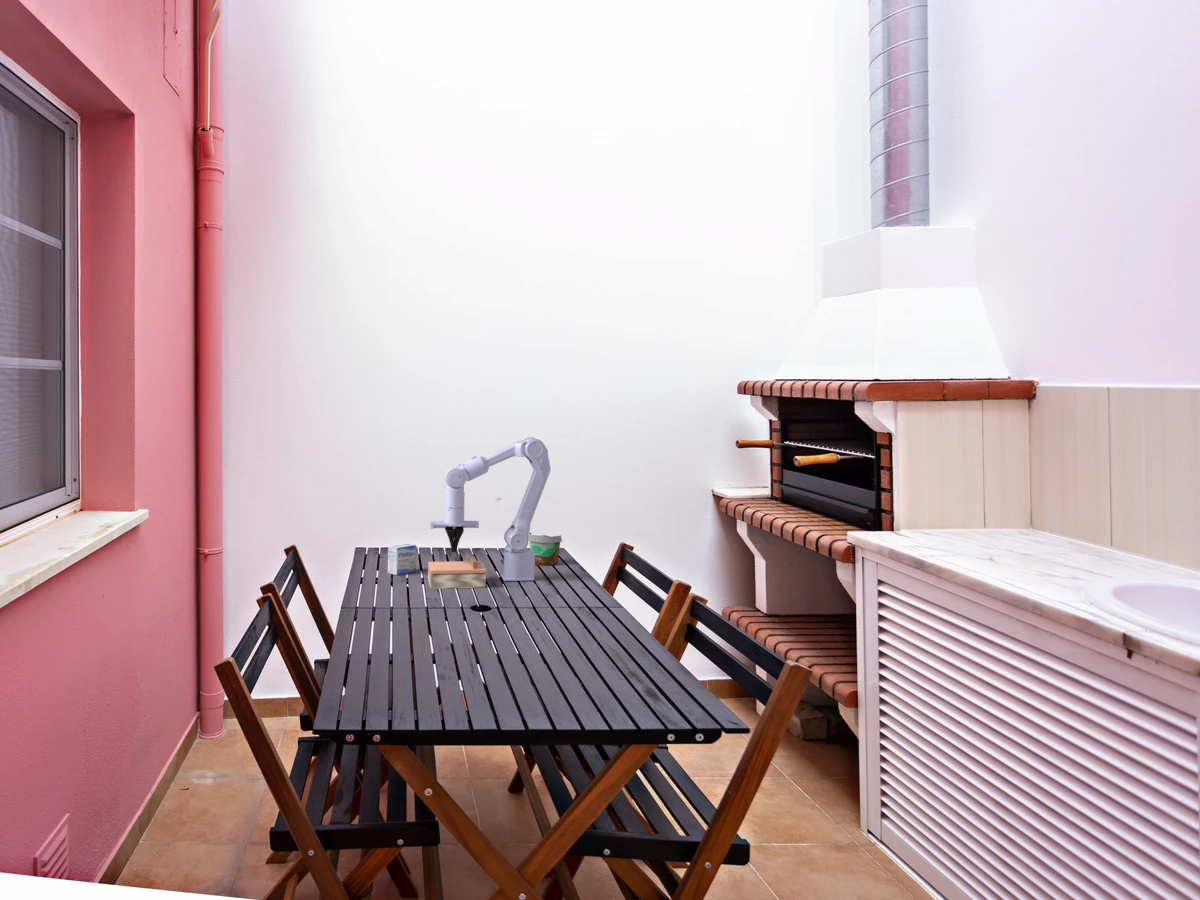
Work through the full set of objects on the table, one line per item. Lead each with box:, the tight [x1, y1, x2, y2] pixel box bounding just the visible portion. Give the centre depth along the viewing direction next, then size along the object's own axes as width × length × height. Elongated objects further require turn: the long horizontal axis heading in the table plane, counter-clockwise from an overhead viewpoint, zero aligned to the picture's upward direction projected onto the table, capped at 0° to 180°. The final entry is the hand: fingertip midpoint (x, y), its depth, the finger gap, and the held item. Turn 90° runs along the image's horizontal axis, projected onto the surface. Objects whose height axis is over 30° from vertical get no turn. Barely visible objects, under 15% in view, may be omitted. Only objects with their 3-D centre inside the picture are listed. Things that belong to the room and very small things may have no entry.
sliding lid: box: [427, 555, 487, 574], centre depth 263 cm, size 16×13×3 cm
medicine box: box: [387, 543, 417, 576], centre depth 275 cm, size 8×4×9 cm, turn 143°
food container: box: [528, 531, 563, 567], centre depth 295 cm, size 12×6×10 cm, turn 68°
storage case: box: [427, 566, 487, 590], centre depth 263 cm, size 16×13×4 cm
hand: (453, 551), depth 267 cm, fingers closed
